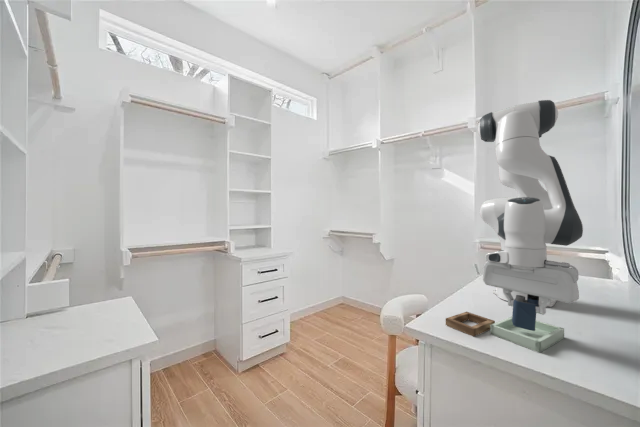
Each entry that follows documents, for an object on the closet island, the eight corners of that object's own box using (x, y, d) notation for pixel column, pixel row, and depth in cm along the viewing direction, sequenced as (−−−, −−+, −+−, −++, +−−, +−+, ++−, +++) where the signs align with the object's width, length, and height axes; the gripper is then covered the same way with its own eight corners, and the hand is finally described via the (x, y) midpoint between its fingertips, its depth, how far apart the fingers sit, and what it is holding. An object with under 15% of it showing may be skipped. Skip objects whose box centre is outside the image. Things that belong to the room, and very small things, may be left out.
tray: (516, 323, 76) (516, 314, 76) (564, 338, 66) (564, 328, 66) (490, 334, 69) (490, 325, 69) (539, 352, 59) (539, 342, 59)
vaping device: (537, 332, 66) (541, 287, 65) (511, 325, 69) (515, 282, 68) (536, 328, 68) (539, 284, 67) (511, 322, 71) (514, 280, 70)
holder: (466, 317, 80) (466, 311, 80) (494, 327, 73) (494, 320, 73) (445, 325, 75) (445, 318, 75) (473, 336, 68) (473, 329, 68)
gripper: (583, 262, 60) (584, 320, 60) (491, 252, 78) (492, 297, 78) (572, 265, 57) (574, 327, 57) (479, 254, 75) (480, 300, 75)
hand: (526, 309), depth 68 cm, fingers closed on vaping device, 5 cm apart
